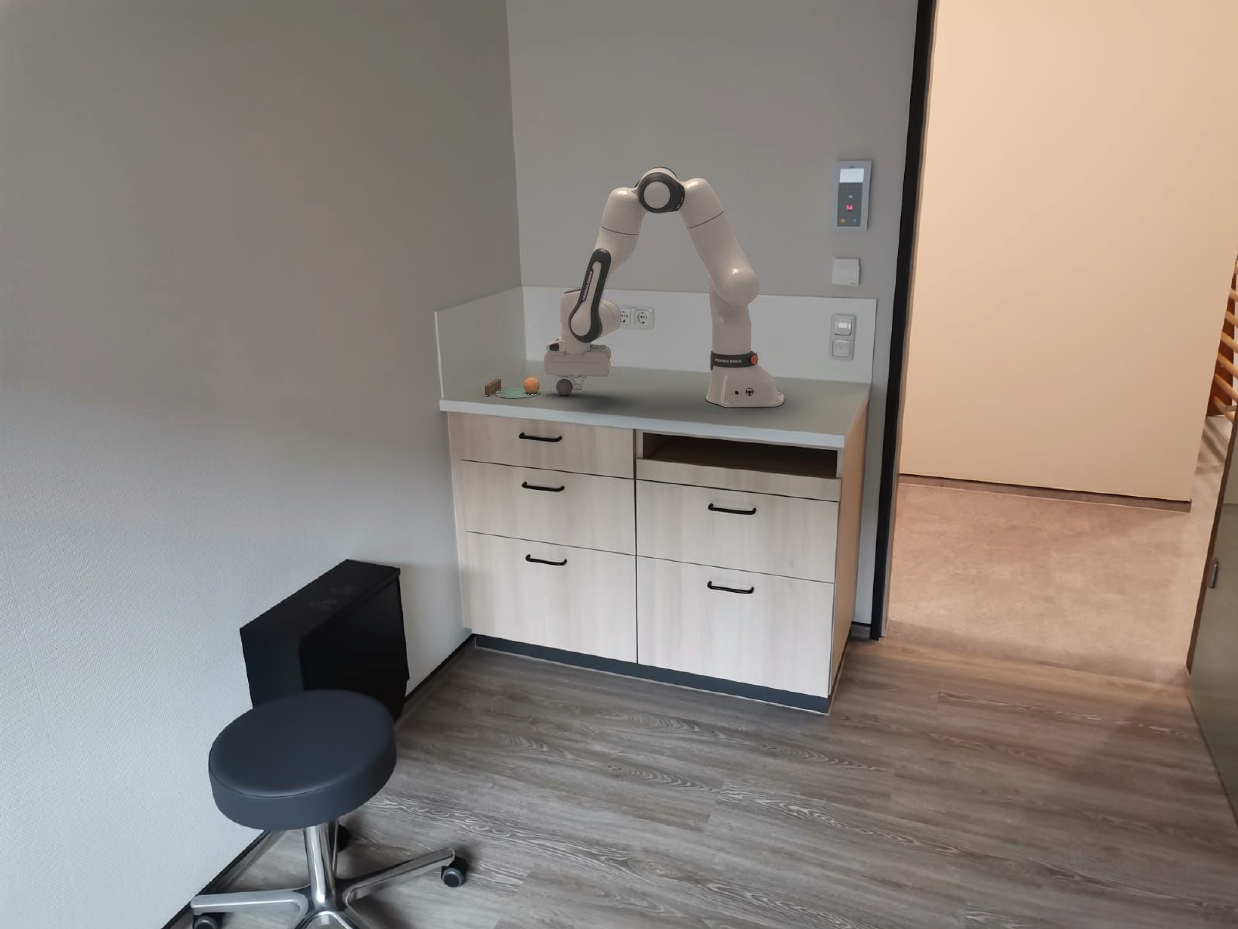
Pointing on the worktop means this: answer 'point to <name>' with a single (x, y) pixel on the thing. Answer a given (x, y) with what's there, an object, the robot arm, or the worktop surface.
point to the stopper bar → (493, 387)
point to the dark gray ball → (564, 387)
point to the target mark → (510, 393)
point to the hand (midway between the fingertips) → (578, 389)
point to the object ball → (531, 385)
